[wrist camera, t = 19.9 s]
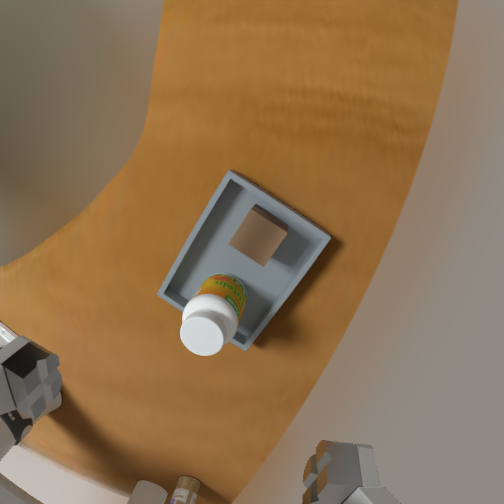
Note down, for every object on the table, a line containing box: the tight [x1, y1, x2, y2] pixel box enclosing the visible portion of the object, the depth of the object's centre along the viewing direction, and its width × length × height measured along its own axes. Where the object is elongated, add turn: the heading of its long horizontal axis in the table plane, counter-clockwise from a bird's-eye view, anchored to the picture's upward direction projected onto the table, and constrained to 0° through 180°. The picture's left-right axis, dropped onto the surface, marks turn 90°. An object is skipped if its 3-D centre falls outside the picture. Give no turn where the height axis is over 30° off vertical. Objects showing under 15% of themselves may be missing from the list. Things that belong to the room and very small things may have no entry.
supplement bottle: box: [180, 273, 247, 356], centre depth 31 cm, size 5×5×10 cm
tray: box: [157, 170, 331, 351], centre depth 34 cm, size 12×16×2 cm
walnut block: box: [229, 204, 288, 267], centre depth 31 cm, size 4×4×4 cm
